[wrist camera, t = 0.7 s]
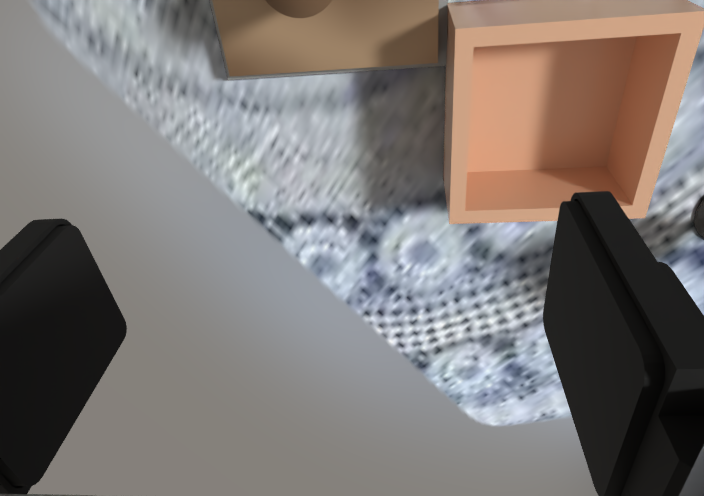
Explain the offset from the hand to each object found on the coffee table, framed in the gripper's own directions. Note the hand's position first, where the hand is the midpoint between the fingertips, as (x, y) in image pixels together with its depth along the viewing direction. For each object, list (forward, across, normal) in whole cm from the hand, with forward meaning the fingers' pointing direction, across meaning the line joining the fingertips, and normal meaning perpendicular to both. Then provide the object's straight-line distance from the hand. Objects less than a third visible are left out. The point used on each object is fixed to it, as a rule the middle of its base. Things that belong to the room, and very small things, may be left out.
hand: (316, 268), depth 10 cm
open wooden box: (+20, -9, +4) cm, 23 cm away
